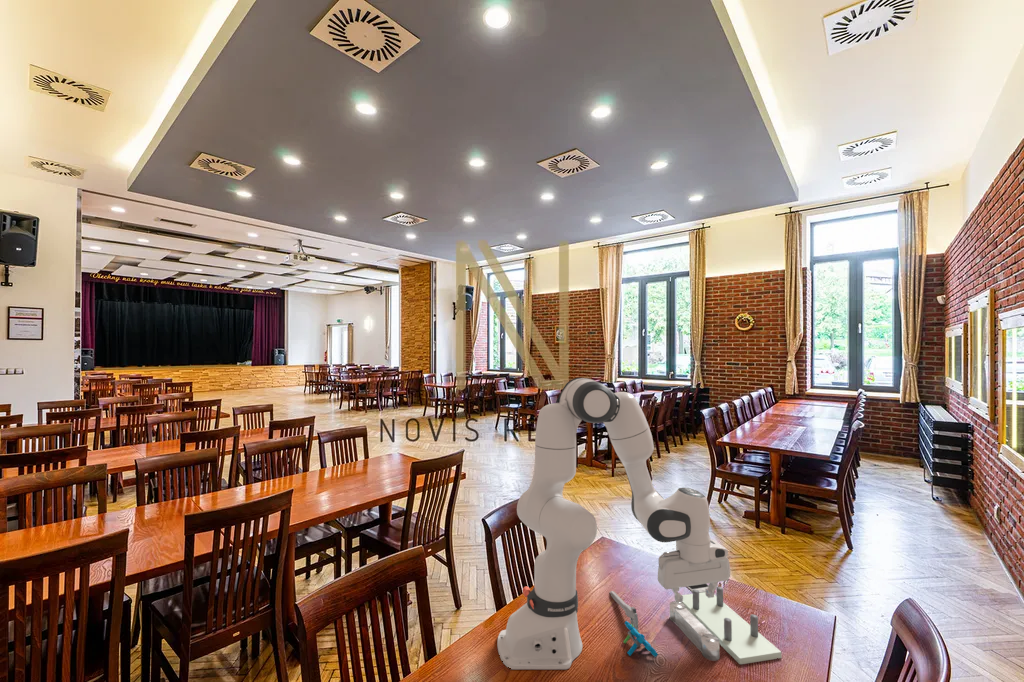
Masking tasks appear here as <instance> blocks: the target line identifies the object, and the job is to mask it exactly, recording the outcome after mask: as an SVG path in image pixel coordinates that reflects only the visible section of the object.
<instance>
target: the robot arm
mask: <svg viewBox="0 0 1024 682" xmlns="http://www.w3.org/2000/svg"><path fill="white" fill-rule="evenodd" d="M647 420H648V419H647V418H646V415H645V413H644V411H643V408H641V405H640V404H639V401H638V400H637V398H636V397H635V395H633V394H632V393H630V392H626V391H617V392H613V391H612V390H611V389H610V388H609V387H608V386H606V385H605V384H603V383H601V382H599V381H596V380H595V379H591V378H586V377H585V378H583V377H576V378H573V379H570V380H569V381H567V382H566V383H565V385H564V386H563V387H562V390H561V392H560V393H559V395H558V397H557V398H556V402H555V403H554V402H553V403H549V404H545V406H543V407H542V408H540V410H539V412H538V416H537V422H536V427H535V437H534V440H535V441H534V442H535V443H534V469H533V476H532V480H531V482H530V485H529V486H528V488H527V490H525V491H524V492H523V493H522V494H521V496H520V497H519V499H518V501H517V504H516V515H517V516H518V518H519V520H520V521H521V522H522V523H523V524H524V525H525V526H526V527H527V528H529V530H532V531H533V532H535V533H537V534H539V535H541V536H542V537H544V538H545V540H546V547H545V548H546V549H545V550H543V551H541V552H540V553H539V554H538V555H537V556H536V557H535V559H534V571H533V572H534V573H533V574H534V579H533V580H534V587H533V588H532V590H531V589H530V587H529V586H523V588H522V593H523V595H524V597H526V598H527V599H526V603H524V604H523V605H522V606H521V607H519V608H518V609H517V610H516V611H515V612H512V614H510V616H509V617H508V619H507V623H506V628H505V629H502V630H501V631H500V632H499V634H498V636H497V645H496V646H497V652H498V655H500V656H499V658H500V660H501V662H502V661H503V662H502V664H503V665H505V667H506V668H508V667H509V668H511V669H510V670H568V669H570V668H571V666H572V663H573V661H575V659H576V658H578V657H579V656H580V655H581V653H582V652H583V651H582V650H583V642H582V639H581V634H580V630H579V624H578V614H577V613H578V609H579V597H578V596H579V595H578V590H577V564H578V560H579V557H580V555H581V553H582V552H583V551H585V550H587V549H588V548H590V546H591V545H592V544H593V543H594V542H595V539H596V537H597V533H598V524H597V520H596V517H595V516H594V514H593V513H591V512H590V511H589V510H588V509H587V508H585V507H584V506H582V505H581V504H579V503H577V502H574V501H573V500H572V501H571V500H569V499H567V498H564V496H563V492H564V487H565V484H567V483H569V482H570V481H571V480H573V479H574V477H575V476H576V473H577V431H578V427H579V425H580V424H581V422H582V421H584V422H586V423H589V424H590V423H591V424H599V423H603V425H604V426H605V428H606V431H607V433H608V437H609V440H610V443H611V446H613V449H614V451H615V454H616V455H617V457H618V459H619V460H620V462H621V463H622V465H623V467H624V470H625V473H626V476H627V480H628V482H629V487H630V489H631V512H632V515H633V516H634V519H636V520H637V522H639V523H640V524H641V526H642V527H643V528H644V529H645V531H646V532H647V534H649V535H650V536H651V538H653V540H655V541H657V542H659V543H671V542H675V550H672V551H664V552H662V554H661V555H660V556H659V557H658V558H657V559H658V569H657V581H658V583H659V584H660V585H661V586H662V588H664V589H665V590H671V591H672V593H673V595H674V601H676V602H677V603H681V602H683V596H682V595H683V594H681V593H680V588H687V586H694V585H700V584H707V585H709V586H708V588H707V589H705V591H706V593H705V594H706V596H707V597H708V598H712V597H714V595H715V591H716V590H717V587H719V586H718V585H719V584H718V583H719V582H725V581H729V579H730V577H731V565H730V559H729V558H728V556H729V550H728V549H727V548H726V547H725V546H724V545H722V544H720V543H719V542H718V541H716V540H714V539H712V538H711V536H710V533H709V532H710V526H711V517H710V505H709V501H708V499H707V497H706V495H704V494H703V493H702V492H700V491H699V490H697V489H693V488H691V487H679V488H678V489H676V491H675V492H674V493H673V494H671V495H670V496H668V497H666V498H663V496H662V495H661V494H660V493H659V492H658V491H657V490H656V489H655V487H654V484H653V481H652V478H651V475H650V472H649V470H648V467H647V466H648V465H647V460H648V459H649V458H650V457H651V456H652V455H653V452H654V450H655V445H654V440H653V439H654V438H653V435H652V432H651V429H650V426H649V423H648V421H647ZM509 668H508V669H509Z"/></svg>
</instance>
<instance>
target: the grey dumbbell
mask: <svg viewBox="0 0 1024 682" xmlns="http://www.w3.org/2000/svg"><path fill="white" fill-rule="evenodd" d="M669 619H670V621H672V622H673V623H674V624H675V625H676V626H677V627H678V628H679V629H680V631H682V632H683V634H684V635H685V636H686V637H687V639H688V640H690V642H692V644H693V645H694V646H695V647H696V648H697V649H698V651H699V652H701V655H702V656H703V658H705V659H707V660H709V661H713V662H716V661H718V660H720V644H719V639H718V638H717V637H715V636H713V635H712V634H711V633H710V632H709V631H708V630H707V629H706V628H705V627H704V626H703V625H702V624H701V623H700V622H699V621H698V620H697V619H696V618H695V617H694V616H693V615H692V614H691V613H690V612H689V611H688V610H687V609H686V608H685V605H684V604H683V603H677V602H676V601H675V600H674V601H670V602H669Z"/></svg>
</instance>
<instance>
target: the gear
mask: <svg viewBox="0 0 1024 682" xmlns="http://www.w3.org/2000/svg"><path fill="white" fill-rule="evenodd" d="M623 624H624V625H625V627H626V628H627V629H628V631H627V636H626V638H624V640H623V643H624V645H626V644H627V643H628V641H629V640H630V639H631V640H632V641H633V642H634V643H633V644H632V646H631V647H630V649H629V650H628V651H627V654H628V656H630V657H631V656H632V654H633V653H634V652H635V651H636V650H637V648H640V647H641V646H644V648H645V649H646V650H647V651H648V652H650V654H651V655H652V656H653V657H655V658H657V656H658V655H659V654H658V652H657V651H656V649H655V648H654V647H653V646H652V645H651V643H650V642H649V641H647V639H646V638H645V635H644V634H643V633H640V632H639V630H638V631H637V630H636V629H635V628H634V627H633V625H632V624H631V622H629V621H627V620H625V622H623Z"/></svg>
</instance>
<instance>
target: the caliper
mask: <svg viewBox="0 0 1024 682" xmlns="http://www.w3.org/2000/svg"><path fill="white" fill-rule="evenodd" d="M609 594H610V597H611V598H612V599H613V600H614V601H615V602H616V604H618V605H619V606H620V607H621V609H622V610H623V611H624V612H625V616H626V617H628V618H629V621H630V622H629V623H630V624H632V625H633V627H634V628H635V629H636V630H637V631H638V632H639V620H638V619H639V618H638V613H637V608H635V606H630V605H629V604H627V603H626V602H625V601H624V600H623V599H622V597H620V596H619V595H618V593H616V591H613V590H610V591H609Z"/></svg>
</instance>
